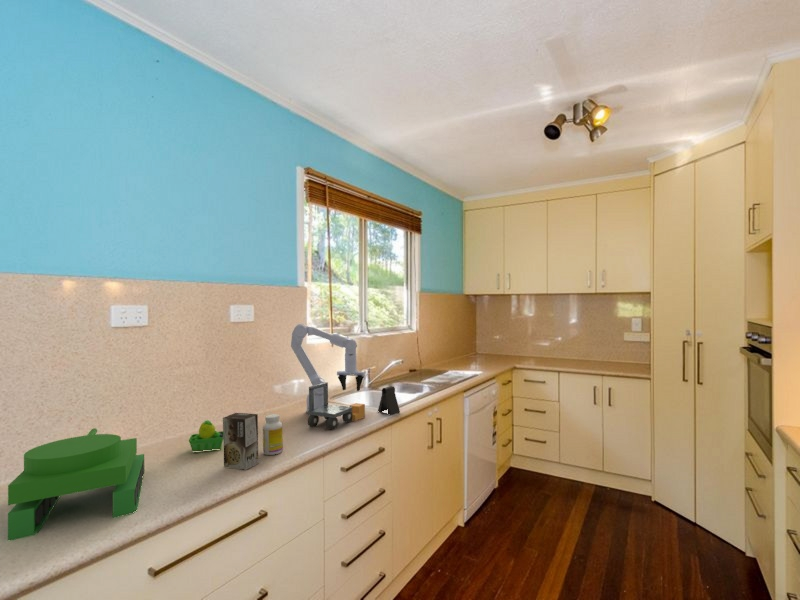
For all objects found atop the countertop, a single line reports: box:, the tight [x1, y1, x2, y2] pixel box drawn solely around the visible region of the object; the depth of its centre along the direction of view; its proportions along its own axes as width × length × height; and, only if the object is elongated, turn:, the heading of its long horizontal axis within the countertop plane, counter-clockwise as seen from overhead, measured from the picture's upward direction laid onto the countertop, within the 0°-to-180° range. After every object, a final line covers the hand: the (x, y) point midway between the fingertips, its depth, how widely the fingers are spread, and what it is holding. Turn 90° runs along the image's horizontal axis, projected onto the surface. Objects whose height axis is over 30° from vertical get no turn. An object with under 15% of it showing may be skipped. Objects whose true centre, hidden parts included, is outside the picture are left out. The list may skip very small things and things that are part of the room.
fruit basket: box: [188, 420, 223, 452], centre depth 145 cm, size 11×9×11 cm
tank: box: [7, 428, 145, 541], centre depth 111 cm, size 24×35×16 cm
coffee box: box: [222, 412, 260, 471], centre depth 130 cm, size 9×6×16 cm
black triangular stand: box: [377, 386, 401, 416], centre depth 192 cm, size 9×6×12 cm, turn 47°
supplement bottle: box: [262, 413, 284, 456], centre depth 142 cm, size 7×7×13 cm
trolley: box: [307, 381, 352, 418], centre depth 175 cm, size 14×13×12 cm
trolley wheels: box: [307, 411, 353, 431], centre depth 174 cm, size 12×16×5 cm
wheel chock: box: [349, 402, 366, 422], centre depth 183 cm, size 5×8×6 cm, turn 153°
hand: (351, 390), depth 200 cm, fingers open, 7 cm apart
